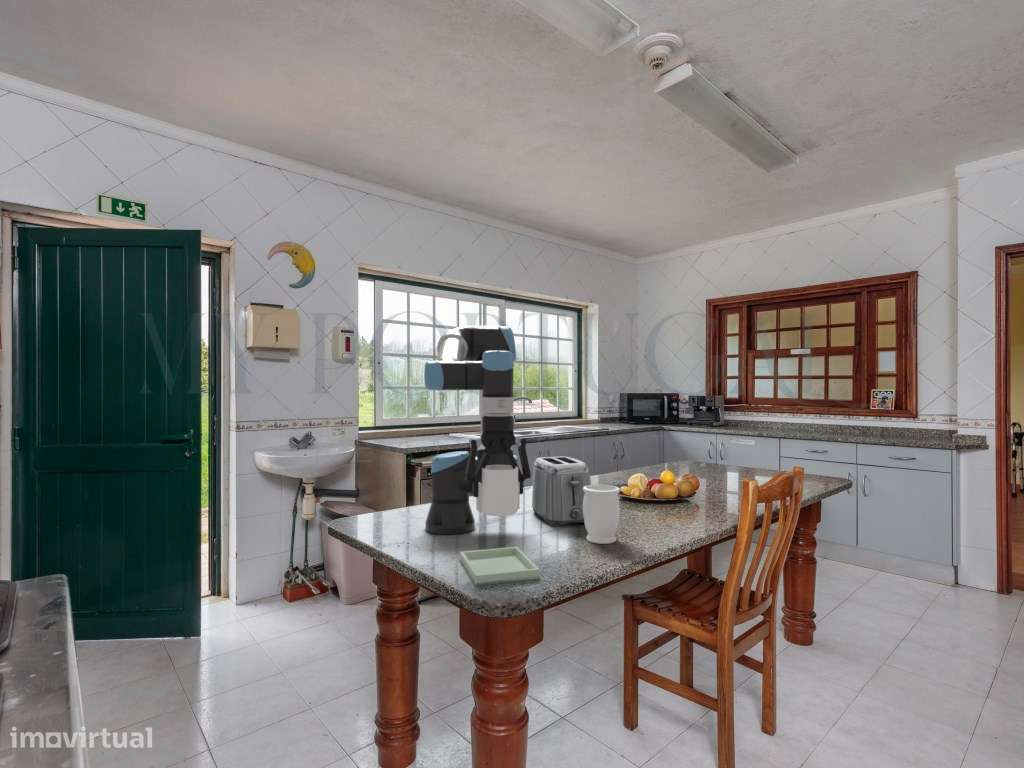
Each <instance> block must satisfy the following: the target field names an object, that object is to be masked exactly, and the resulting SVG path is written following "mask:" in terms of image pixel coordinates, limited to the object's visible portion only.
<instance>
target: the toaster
mask: <svg viewBox="0 0 1024 768" xmlns="http://www.w3.org/2000/svg"><path fill="white" fill-rule="evenodd" d="M532 471H533V472H532V495H531V497H532V499H531V507H532V511H533V512H534V514H537V515H538V516H539V517H541V518H542V519H543V520H544V521H545V522H546V523H547V524H549V525H551V526H553V527H562V526H564V525H565V524H571V523H584V524H585V522H584V515H583V499H584V495H585V492H584V491H583V487H584V486H588V485H592V484H591V483H592V480H591V472H590V468H589V466H588V465H587V463H586V462H584V461H581V460H579V459H577V458H573V457H570V456H563V455H562V456H561V455H560V456H547V457H546V456H545V457H544V456H543V457H537V458H536V459H535V461H534V463H533V469H532Z"/></svg>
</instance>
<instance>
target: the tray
mask: <svg viewBox="0 0 1024 768" xmlns="http://www.w3.org/2000/svg"><path fill="white" fill-rule="evenodd" d="M459 561H460V563H461V564H462V566H463V568H464V569H465V570H466V572H467V574H468V576H469V577H470V579H471V580H472V583H473V584H474V585H475V586H476V587H481V586H488V585H495V584H496V585H497V584H505V583H515V582H523V581H524V582H526V581H532V580H535V581H536V580H541V568H539V567H538V566H537V565H536V564H535V563H534V562H533V561H532V560H531V559H530V557H528V556H527V555H526V554H525V553H524V552H523V551H522V550H521V549H520V548H519V547H518V546H509V547H496V548H487V549H478V550H477V549H475V550H468V551H467V550H466V551H460V552H459Z"/></svg>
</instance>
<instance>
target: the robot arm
mask: <svg viewBox="0 0 1024 768" xmlns="http://www.w3.org/2000/svg"><path fill="white" fill-rule="evenodd" d="M516 349H517V347H516V340H515V335H514V331H513V329H512V328H511V327H510V326H507V325H504V326H503V325H499V324H497V325H460V326H458V327H455V328H452V329H450V330H449V331H447V332H445V333H443V335H441V337H440V338H439V340H438V342H437V346H436V350H437V351H436V352H437V357H436V359H435V360H427V361H426V362H425V364H424V386H425V388H426V389H427V390H428V391H430V390H432V391H439V392H440V391H480V437H479V438H475V439H474V438H470V439H469V440H468V443H469V450H467V451H466V450H463V451H462V450H460V451H451V452H445V453H441V454H437V455H436V456H434V457H433V458H432V459H431V466H430V469H431V470H430V474H431V477H430V478H431V481H430V482H431V483H430V484H431V485H430V486H431V488H430V490H431V491H430V495H431V496H430V499H431V500H430V501H431V502H430V507H429V510H428V514H427V516H426V520H425V531H426V532H429V533H430V534H435V535H458V534H459V535H460V534H467V533H468V532H471V531H473V530H474V529H475V527H476V521H475V517H474V514H473V511H472V507H471V505H470V495H472V496H473V497H474V498H476V499H475V500H476V501H475V503H476V505H475V507H476V508H475V509H476V510H477V511H478V512H479V513H481V512H482V513H483V511H482V468H484V469H485V467H486V466H488V465H511V466H512V468H513V469H515V466H517V467H518V510H520V509H521V508H520V501H521V500H520V499H521V498H520V495H523V494H524V483H525V481H526V480H528V479H530V478H531V477H532V475H531V474H532V473H531V469H530V465H529V464H530V463H529V460H528V455H527V454H528V453H527V450H526V444H527V439H526V438H524V437H521V436H520V437H516V436H515V434H514V433H515V432H514V417H513V415H512V414H513V413H514V367H515V363H514V362H516V360H517V352H516ZM514 443H515V445H516V447H517V450H518V451H517V452H518V455H516V454H514V449H513V448H512V447H513V445H514ZM518 460H519V461H520V465H521V469H520V466H519V465H518V463H519V462H518ZM521 470H522V471H521Z"/></svg>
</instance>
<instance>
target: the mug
mask: <svg viewBox="0 0 1024 768" xmlns="http://www.w3.org/2000/svg"><path fill="white" fill-rule="evenodd" d="M518 467H519V466H518ZM518 467H517V466H515V469H513V468H512V466H511V465H488V466H486V467H485V469H484V468H482V513H483V514H485V515H486V516H491V517H508V516H509V517H510V516H513V515H516V514H517V513H518V510H519V509H518Z"/></svg>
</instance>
